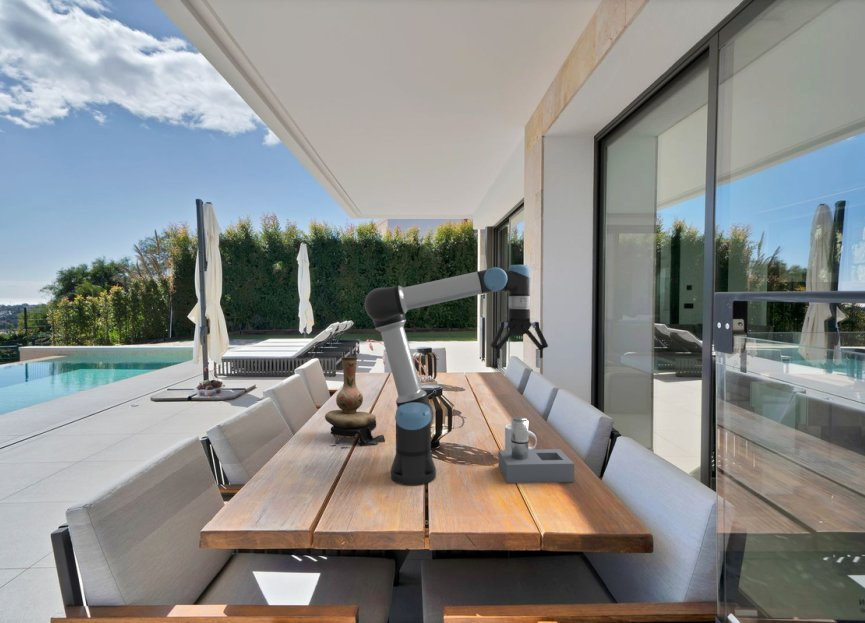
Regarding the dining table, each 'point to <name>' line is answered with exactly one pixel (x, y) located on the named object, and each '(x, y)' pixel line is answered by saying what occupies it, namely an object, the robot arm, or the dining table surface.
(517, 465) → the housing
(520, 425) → the silver can
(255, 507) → the dining table surface
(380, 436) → the vase
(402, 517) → the dining table surface
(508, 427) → the mug
